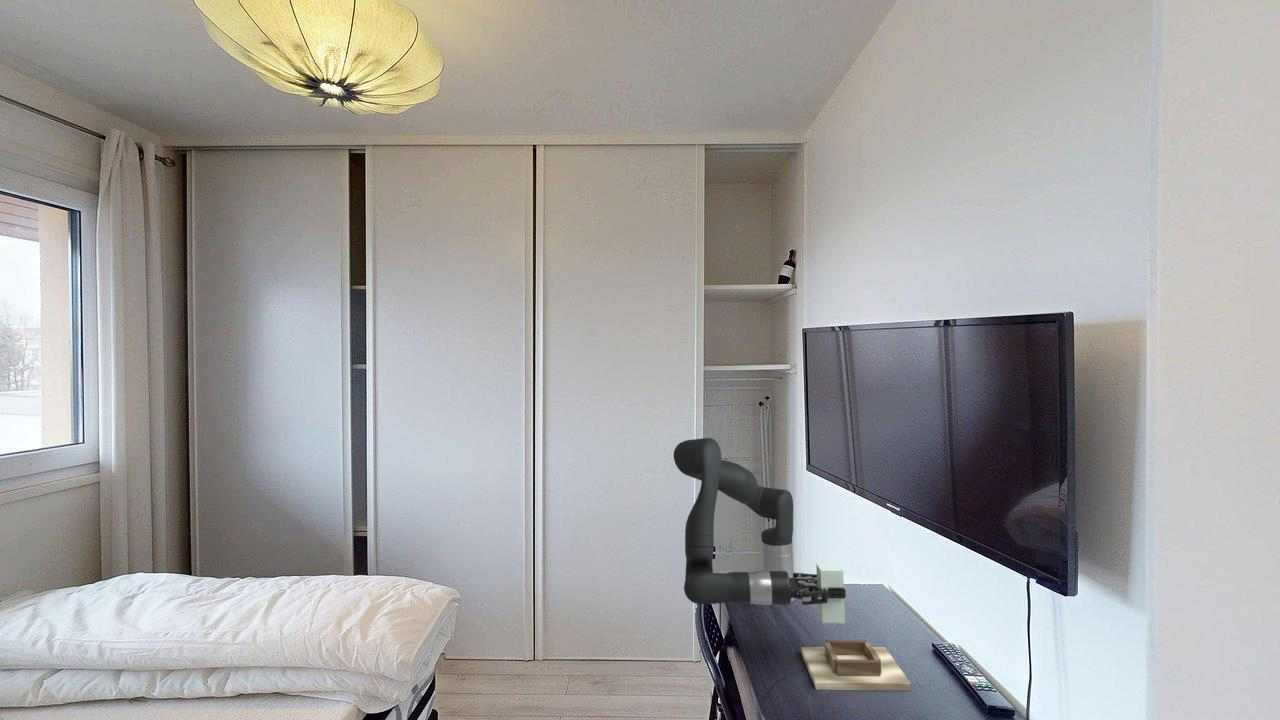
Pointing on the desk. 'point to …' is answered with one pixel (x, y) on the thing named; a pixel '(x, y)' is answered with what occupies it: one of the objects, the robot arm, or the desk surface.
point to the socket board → (853, 667)
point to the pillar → (831, 578)
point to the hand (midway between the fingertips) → (841, 588)
